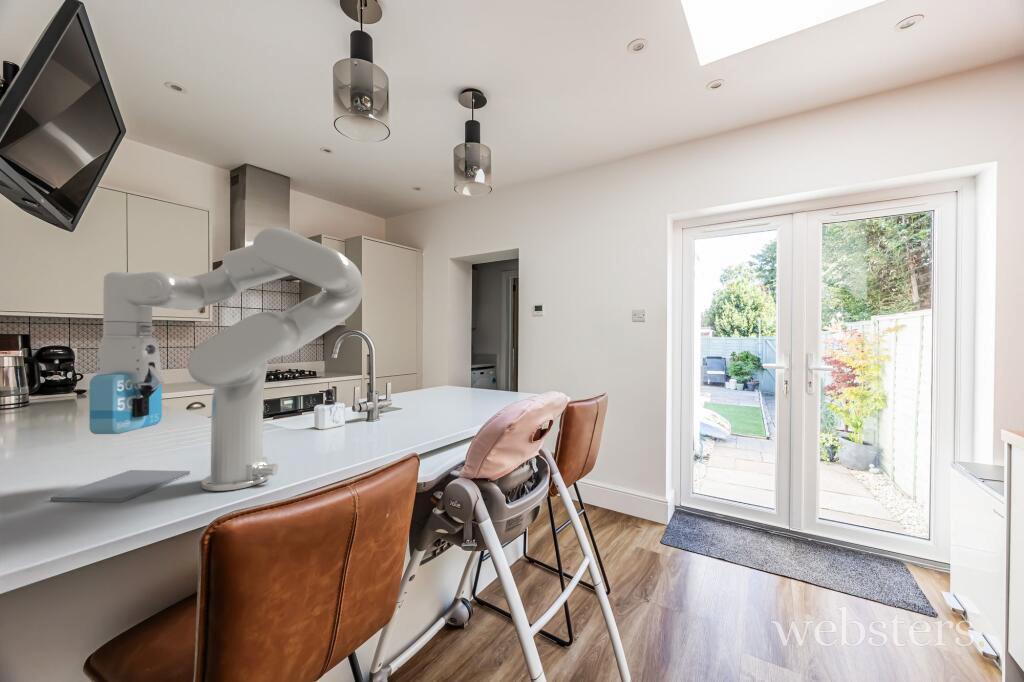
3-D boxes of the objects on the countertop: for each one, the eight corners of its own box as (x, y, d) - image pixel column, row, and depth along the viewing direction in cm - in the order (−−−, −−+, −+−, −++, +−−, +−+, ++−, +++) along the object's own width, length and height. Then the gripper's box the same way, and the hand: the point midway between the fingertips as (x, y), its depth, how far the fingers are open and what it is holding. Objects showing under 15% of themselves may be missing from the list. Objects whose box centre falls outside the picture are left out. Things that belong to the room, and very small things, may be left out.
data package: (112, 435, 79) (112, 375, 79) (88, 435, 79) (88, 375, 79) (162, 423, 91) (162, 370, 91) (141, 423, 91) (141, 370, 91)
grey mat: (189, 474, 93) (189, 470, 93) (122, 502, 77) (122, 498, 77) (130, 473, 93) (130, 470, 93) (50, 501, 77) (50, 496, 77)
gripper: (182, 331, 89) (182, 413, 89) (107, 331, 89) (106, 412, 89) (151, 331, 81) (151, 420, 81) (69, 330, 81) (69, 419, 81)
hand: (128, 415), depth 85 cm, fingers closed on data package, 4 cm apart
